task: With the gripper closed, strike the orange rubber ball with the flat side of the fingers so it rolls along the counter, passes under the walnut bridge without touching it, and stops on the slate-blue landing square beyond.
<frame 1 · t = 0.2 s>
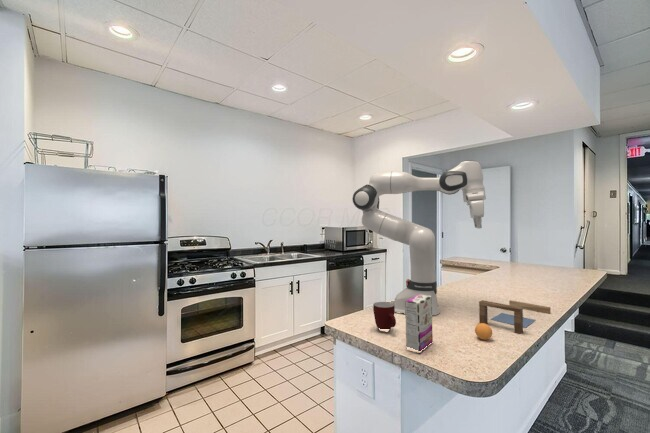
hand: (478, 228, 132), 39 cm above the counter, tool pointing down, fingers open, 8 cm apart
candy bar box: (419, 347, 101), on the counter
ball: (483, 331, 107), on the counter
mug: (386, 332, 115), on the counter
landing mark: (512, 320, 126), on the counter
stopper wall: (529, 309, 140), on the counter
bridge: (500, 328, 117), on the counter
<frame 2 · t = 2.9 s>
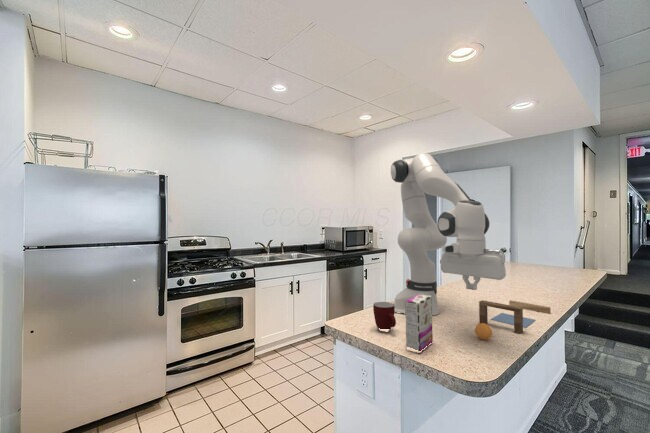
hand: (471, 289, 101), 19 cm above the counter, tool pointing down, fingers closed
nothing on the counter moved.
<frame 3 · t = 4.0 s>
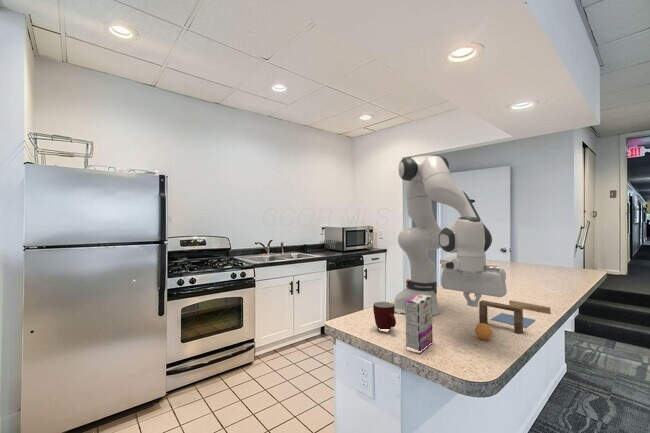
hand: (472, 306, 100), 14 cm above the counter, tool pointing down, fingers closed
nothing on the counter moved.
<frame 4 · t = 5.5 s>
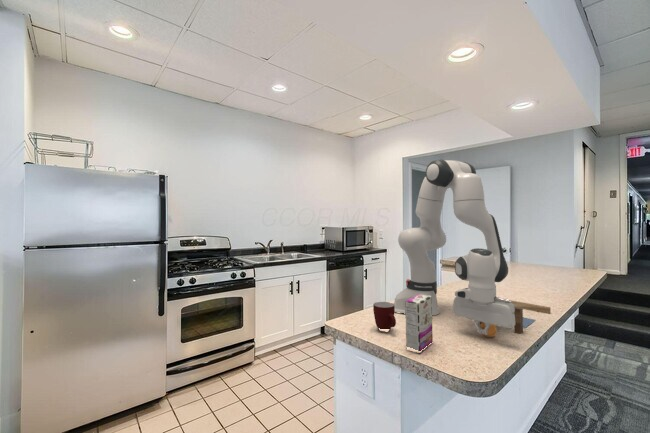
hand: (482, 333, 107), 2 cm above the counter, tool pointing down, fingers closed
ball: (488, 329, 109), on the counter, touching gripper
everything else where it was.
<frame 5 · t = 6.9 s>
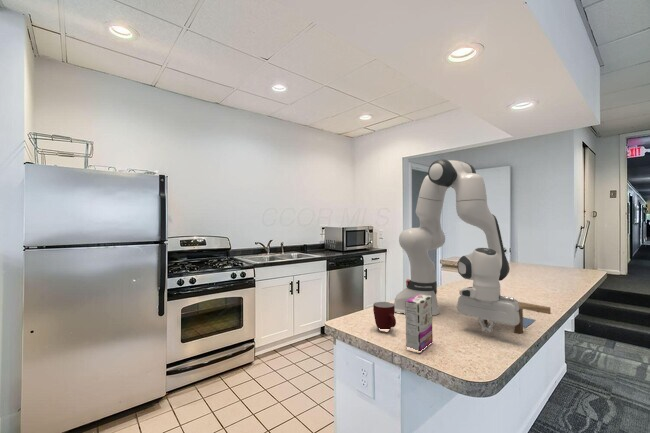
hand: (487, 331, 109), 2 cm above the counter, tool pointing down, fingers closed
ball: (511, 317, 121), on the counter
everything else where it was.
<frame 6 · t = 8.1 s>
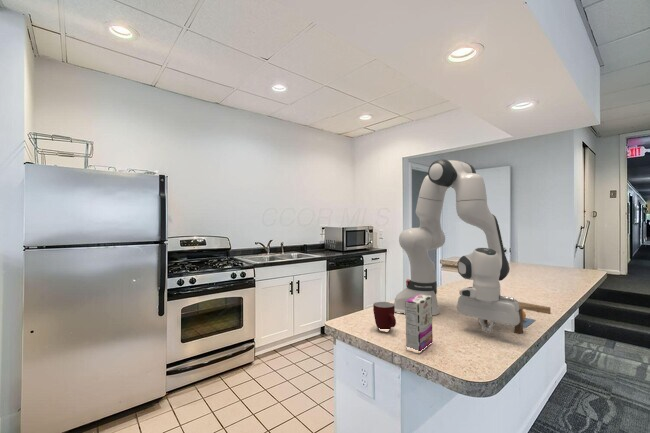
hand: (487, 331, 109), 2 cm above the counter, tool pointing down, fingers closed
ball: (517, 314, 125), on the counter
everything else where it was.
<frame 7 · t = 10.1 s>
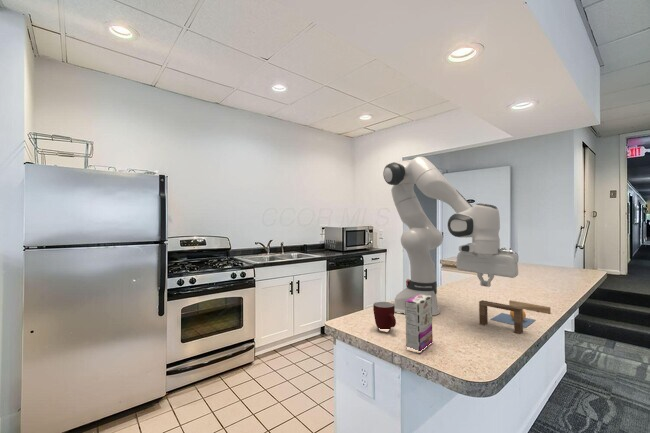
hand: (485, 286, 109), 18 cm above the counter, tool pointing down, fingers closed
nothing on the counter moved.
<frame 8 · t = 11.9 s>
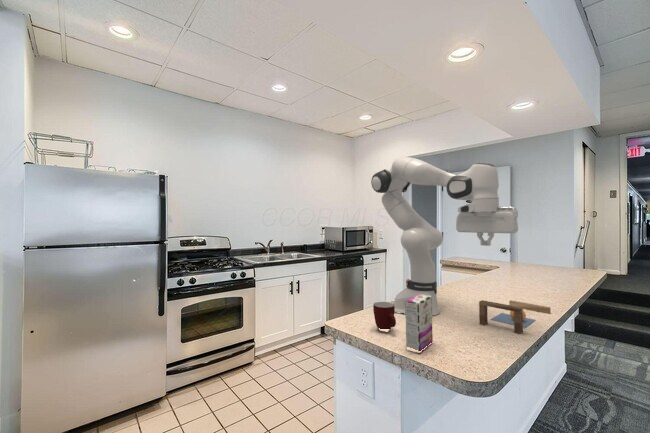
hand: (485, 245, 109), 33 cm above the counter, tool pointing down, fingers closed
nothing on the counter moved.
at the end: ball 1.8 cm from the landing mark (horizontally); ball never touched bridge; ball at rest at the end (0.0 cm/s) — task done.
